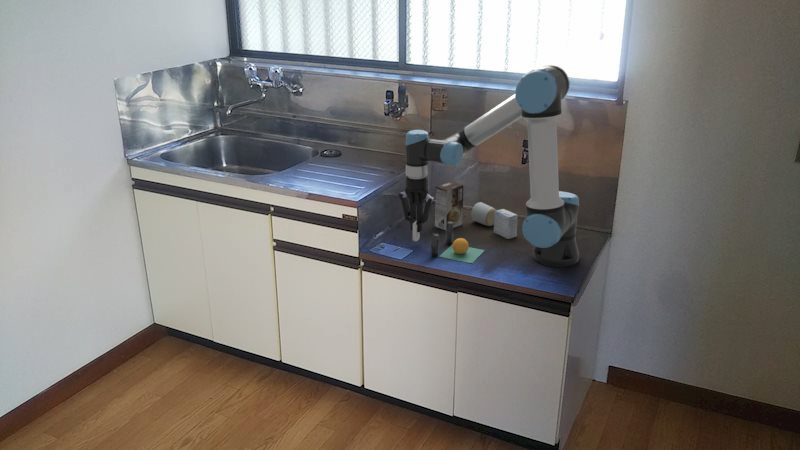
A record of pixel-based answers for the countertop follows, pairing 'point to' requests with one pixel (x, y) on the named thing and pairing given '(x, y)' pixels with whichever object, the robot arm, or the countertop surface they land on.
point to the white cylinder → (483, 214)
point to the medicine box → (505, 223)
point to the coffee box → (448, 204)
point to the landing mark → (466, 257)
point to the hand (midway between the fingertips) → (416, 239)
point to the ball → (460, 246)
